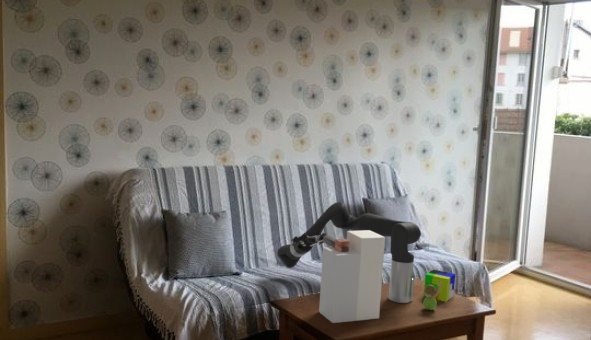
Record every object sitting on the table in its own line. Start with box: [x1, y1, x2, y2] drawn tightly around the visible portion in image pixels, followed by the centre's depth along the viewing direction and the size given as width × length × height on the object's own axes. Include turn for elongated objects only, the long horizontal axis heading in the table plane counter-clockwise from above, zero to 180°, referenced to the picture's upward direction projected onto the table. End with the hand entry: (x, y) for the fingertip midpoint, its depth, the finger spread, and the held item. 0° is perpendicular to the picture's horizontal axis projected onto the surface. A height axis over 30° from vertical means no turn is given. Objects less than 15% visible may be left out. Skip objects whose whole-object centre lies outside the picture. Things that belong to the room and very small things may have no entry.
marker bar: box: [323, 235, 350, 252], centre depth 241 cm, size 4×16×4 cm, turn 23°
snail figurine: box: [422, 282, 441, 311], centre depth 251 cm, size 5×6×12 cm
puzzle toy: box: [423, 269, 456, 302], centre depth 270 cm, size 10×10×10 cm
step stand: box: [318, 230, 386, 324], centre depth 239 cm, size 20×12×32 cm, turn 113°
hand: (315, 235), depth 256 cm, fingers open, 8 cm apart
